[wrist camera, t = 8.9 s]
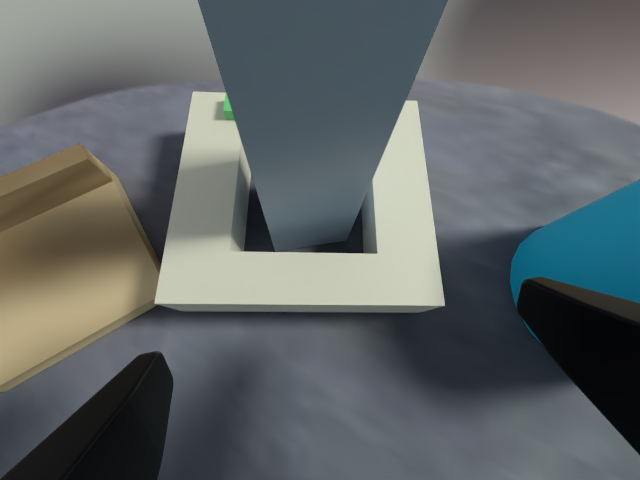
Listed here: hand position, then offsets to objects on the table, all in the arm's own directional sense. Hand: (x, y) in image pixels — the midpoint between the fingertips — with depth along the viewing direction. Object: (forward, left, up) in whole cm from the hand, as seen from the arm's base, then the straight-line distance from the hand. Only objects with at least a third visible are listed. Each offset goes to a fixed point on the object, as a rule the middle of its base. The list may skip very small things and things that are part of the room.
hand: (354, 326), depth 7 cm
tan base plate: (+3, +13, -8) cm, 16 cm away
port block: (+7, +1, -8) cm, 10 cm away
